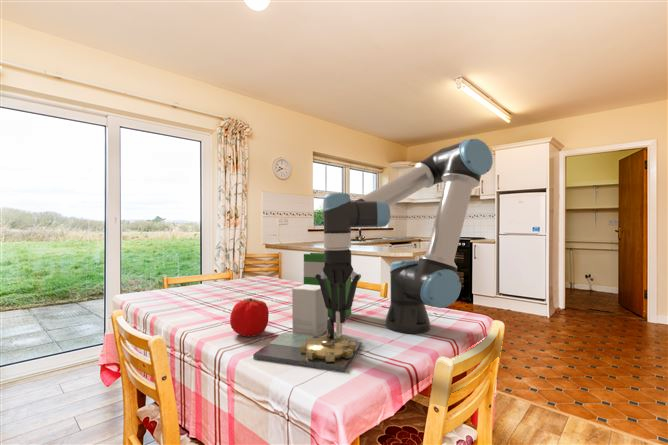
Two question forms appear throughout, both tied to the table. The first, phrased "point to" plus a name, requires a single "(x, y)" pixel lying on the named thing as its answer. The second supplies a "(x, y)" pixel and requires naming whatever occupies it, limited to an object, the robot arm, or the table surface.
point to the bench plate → (289, 353)
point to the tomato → (249, 317)
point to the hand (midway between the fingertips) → (339, 334)
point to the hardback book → (315, 266)
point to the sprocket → (328, 345)
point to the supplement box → (308, 310)
